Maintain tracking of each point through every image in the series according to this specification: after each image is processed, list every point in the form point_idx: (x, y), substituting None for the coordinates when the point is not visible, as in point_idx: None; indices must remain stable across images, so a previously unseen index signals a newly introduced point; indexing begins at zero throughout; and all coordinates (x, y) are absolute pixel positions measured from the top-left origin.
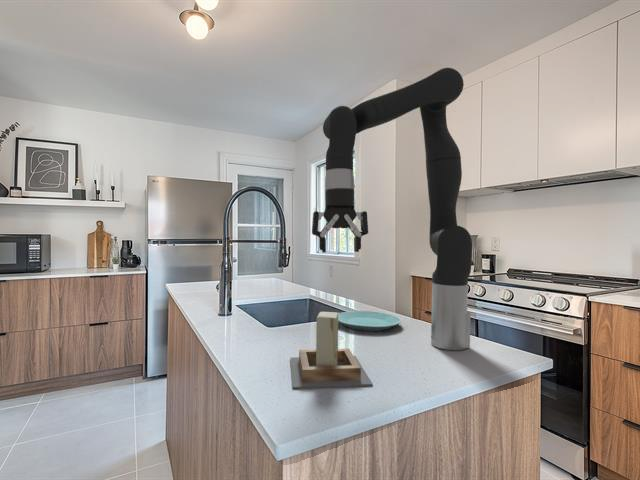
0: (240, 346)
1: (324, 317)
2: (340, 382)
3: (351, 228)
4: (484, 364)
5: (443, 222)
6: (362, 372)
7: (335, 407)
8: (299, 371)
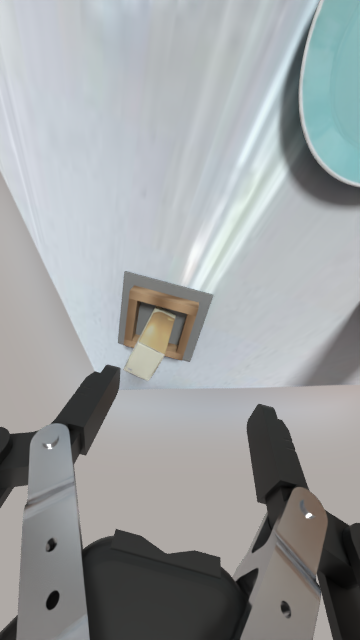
0: (46, 180)
1: (133, 374)
2: None
3: (236, 577)
4: (347, 365)
5: None
6: (193, 340)
7: None
8: None
